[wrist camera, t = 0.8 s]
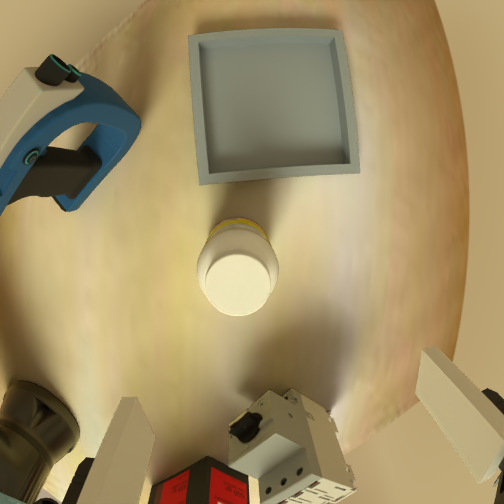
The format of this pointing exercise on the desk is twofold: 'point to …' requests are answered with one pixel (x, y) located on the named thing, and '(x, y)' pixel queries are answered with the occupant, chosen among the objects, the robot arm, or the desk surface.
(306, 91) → the tray
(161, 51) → the desk surface
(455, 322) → the desk surface
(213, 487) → the cleaning product box
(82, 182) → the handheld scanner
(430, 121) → the desk surface
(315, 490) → the circuit breaker
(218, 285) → the supplement bottle
